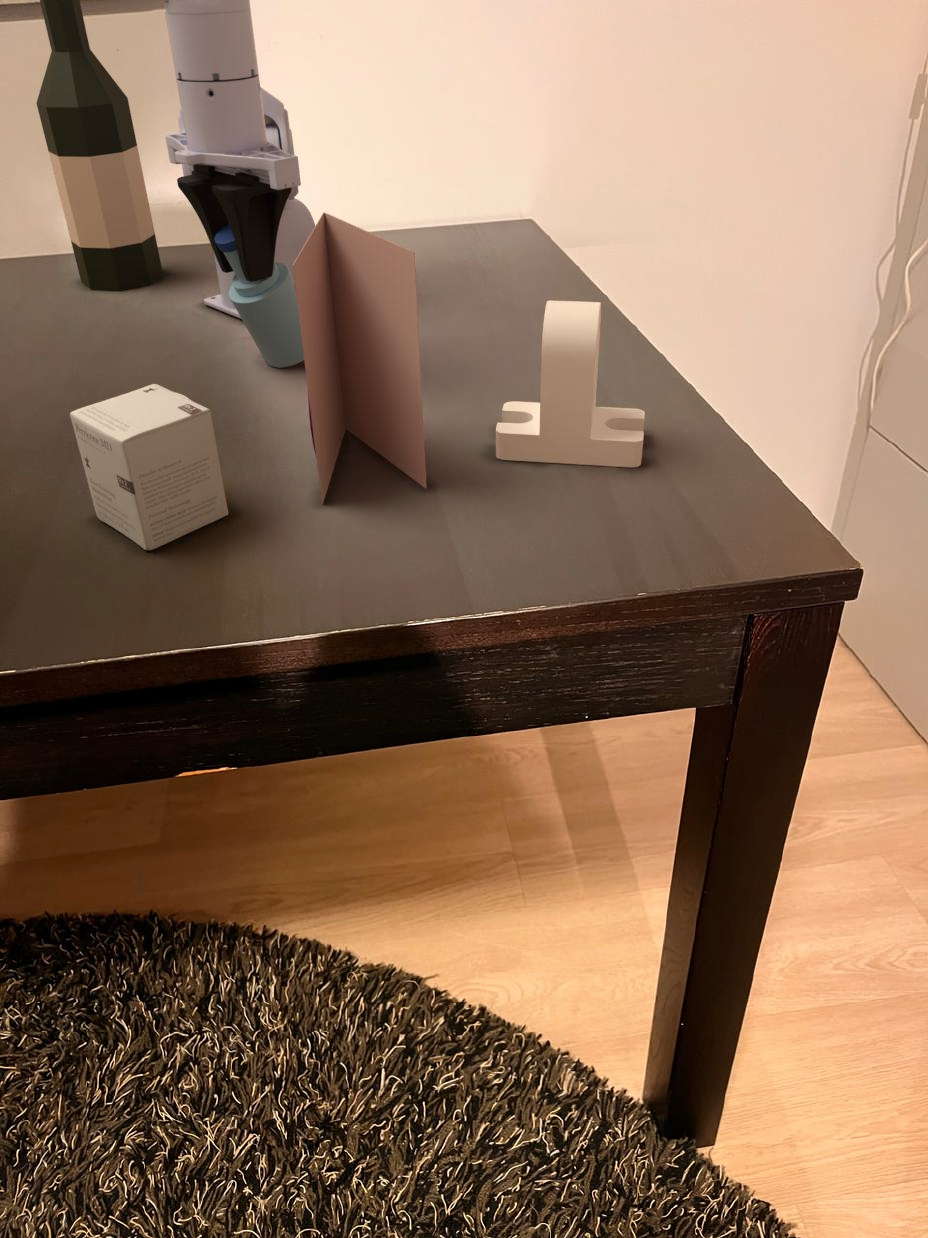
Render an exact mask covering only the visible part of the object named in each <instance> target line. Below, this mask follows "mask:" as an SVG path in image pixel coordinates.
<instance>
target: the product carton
mask: <svg viewBox="0 0 928 1238" xmlns="http://www.w3.org/2000/svg"><path fill="white" fill-rule="evenodd" d="M69 418H70V420H71V424H72V428H73V432H74V435H75V439H76V443H77V447H78V450H79V455H80V458H81V462H82V466H83V470H84V473H85V477H86V481H87V484H88V489H89V493H90V497H91V500H92V504H93V508H94V511H95V515H96V517H97V518H98V520H99V521H101V522H102V523H105V524H107V526H110V527H111V528H113V529H114V530H116V531H118V532H120V534H122V535H123V536H125V537H127V538H128V539H130V540H131V541H132V542H133V543H135V544H136V545H138V546H139V547H141V548H142V549H143V550H145V551H153V550H155V549H158V548H160V547H162V546H164V545H167V544H169V543H171V542H173V541H175V540H177V539H179V538H181V537H183V536H186V535H188V534H190V533H193V532H194V531H197V530H199V529H201V528H202V527H205V526H207V525H209V524H212V523H214V522H216V521H218V520H220V519H222V518H225V517H227V516H229V508H228V503H227V497H226V492H225V487H224V486H225V485H224V481H223V476H222V475H223V474H222V471H221V464H220V458H219V457H220V456H219V452H218V446H217V439H216V435H215V434H216V433H215V430H214V424H213V418H212V412H211V410H210V409H209V408H208V407H205V406H203V405H201V404H199V403H197V402H195V401H193V400H191V399H190V398H189V397H187V396H186V395H183V394H182V393H179V392H175V391H173V390H170V389H168V388H167V387H164V386H162V385H159V384H157V383H152V384H149V385H146V386H144V387H141V388H138V389H135V390H132V391H129V392H127V393H123V394H120V395H117V396H114V397H111V398H107V399H104V400H101V401H98V402H96V403H92V404H89V405H86V406H83V407H80V408H76V409H75V410H72V411H71V412H70V413H69Z"/></svg>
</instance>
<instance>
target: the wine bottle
mask: <svg viewBox="0 0 928 1238" xmlns="http://www.w3.org/2000/svg"><path fill="white" fill-rule="evenodd" d="M39 3H40V7H41V12H42V17H43V20H44V24H45V28H46V33H47V37H48V42H49V45H50V49H51V52H50V55H49V59H48V62H47V66H46V69H45V72H44V76H43V79H42V82H41V86H40V90H39V93H38V96H37V99H36V107H37V111H38V115H39V119H40V123H41V127H42V132H43V135H44V140H45V143H46V147H47V151H48V156H49V159H50V163H51V167H52V171H53V176H54V179H55V183H56V187H57V191H58V195H59V199H60V203H61V206H62V207H61V208H62V211H63V215H64V219H65V222H66V226H67V227H66V228H67V230H68V235H69V239H70V242H71V247H72V250H73V251H72V252H73V255H74V258H75V262H76V267H77V269H78V271H77V272H78V274H79V279H80V282H81V283H82V284H83V285H84V286H85V287H86V288H88V289H89V290H92V291H119V292H121V291H125V290H129V289H134V288H135V289H136V288H140V287H144V286H149V285H152V284H153V283H154V282H156V281H157V280H159V279H160V278H161V277H163V276H164V271H163V266H162V261H161V257H160V256H161V255H160V252H159V247H158V241H157V237H156V232H155V227H154V221H153V217H152V212H151V208H150V203H149V197H148V193H147V192H148V191H147V188H146V187H147V186H146V182H145V177H144V172H143V168H142V163H141V157H140V152H139V148H138V143H137V138H136V133H135V128H134V123H133V118H132V113H131V108H130V103H129V102H130V101H129V98H128V96H127V95H126V93H125V92H124V91H123V90H122V89H121V87H120V86H119V85H118V83H117V82H116V81H115V80H114V78H113V77H112V76H111V74H110V73H109V72H108V71H107V69H106V68H105V66H103V64H102V63H101V61H100V60H99V59H98V57H97V56H96V55H95V54H94V52H93V51H92V50H91V47H90V42H89V38H88V32H87V29H86V23H85V20H84V15H83V10H82V6H81V1H80V0H39Z"/></svg>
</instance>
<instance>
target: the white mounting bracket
mask: <svg viewBox="0 0 928 1238" xmlns="http://www.w3.org/2000/svg"><path fill="white" fill-rule="evenodd" d="M601 320H602V302H601V301H576V300H575V301H574V300H573V301H572V300H547V301H546V303H545V309H544V316H543V324H542V335H541V337H542V338H541V354H540V355H541V358H540V393H539V394H540V395H539V402H534V401H516V400H515V401H513V400H511V401H507V402H504V403H503V406H502V409H501V422H499V421H497V422H496V426H495V457H496V459H498V460H502V461H515V462H516V461H517V462H530V463H531V462H532V463H533V462H534V463H548V464H549V463H550V464H568V465H581V466H583V465H584V466H600V467H617V468H619V467H621V468H638V467H640V466H641V465H642V458H643V447H644V437H645V436H644V435H645V431H644V429H645V427H644V426H645V417H646V413H645V411H644V410H643V409H640V408H632V407H631V408H629V407H612V406H611V407H609V406H596V403H597V390H598V389H597V388H598V375H599V374H598V371H599V357H600V356H599V355H600V342H601V341H600V339H601V338H600V337H601V323H602V321H601Z"/></svg>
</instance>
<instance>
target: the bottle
mask: <svg viewBox="0 0 928 1238" xmlns="http://www.w3.org/2000/svg"><path fill="white" fill-rule="evenodd" d="M215 242H216V244H217V246H218V248H219V249H220V250H221V251H222V252H223V253H224V255H225V256H226V258H227V260H228V262H229V264H230V265H231V267H232V269H233V271H234V273H235V275H234V277H233V279H232V285H231V287H230V290H229V297H230V299H231V301H232V303H233V305H234V306H235V308H236V310H237V312H238V313H239V315H240V317H241V319H240V320H241V321H242V322H243V324H244V326H245V328H246V329H247V331H248V332H249V335H250V336H251V338H252V340H253V342H254V344H255V345H256V347H257V349H258V350H259V352H260V354H261V356H262V357H263V359H264V361H265V362H266V364H268V365H269V366H271V367H274V368H288V367H293V366H294V365H297V364H299V363H302V362H303V361H304V353H303V345H302V337H301V329H300V320H299V312H298V304H297V296H296V291H295V286H294V285H295V281H294V279H293V277H292V275H291V273H290V271H289V269H288V267H287V266H286V265H285V264H283V263H280V262H274V266H273V274H272V277H268V278H265V279H261V280H257V281H253V282H250V281H247V280H246V278H245V276H244V274H243V271H242V268H241V265H240V261H239V257H238V252H237V248H236V244H235V240H234V236H233V233H232V230H231V227H230V224H228V225H226V226H224V227H223V228H222V229H220V230H219V231H218V232H217V234H216V235H215Z"/></svg>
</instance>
